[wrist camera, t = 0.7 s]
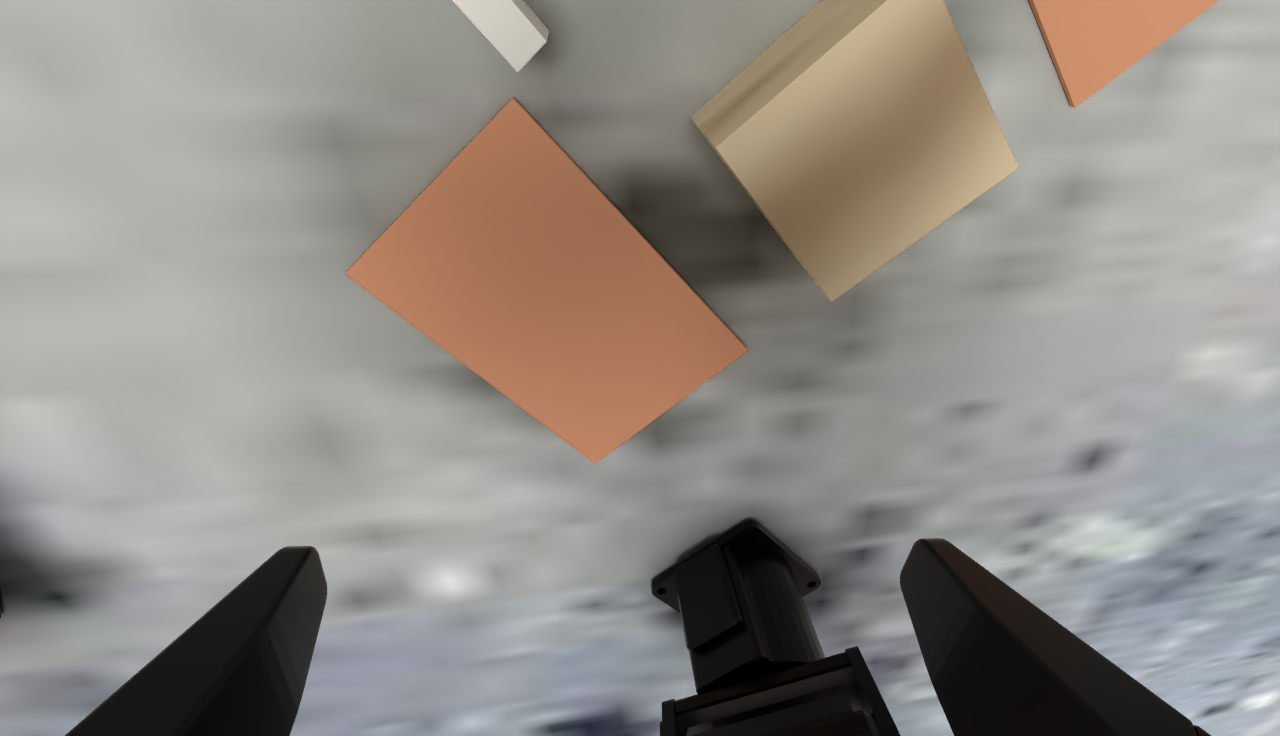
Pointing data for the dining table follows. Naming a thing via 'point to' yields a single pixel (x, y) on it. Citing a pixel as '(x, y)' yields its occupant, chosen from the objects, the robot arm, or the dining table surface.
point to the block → (859, 133)
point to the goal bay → (507, 27)
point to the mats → (618, 257)
